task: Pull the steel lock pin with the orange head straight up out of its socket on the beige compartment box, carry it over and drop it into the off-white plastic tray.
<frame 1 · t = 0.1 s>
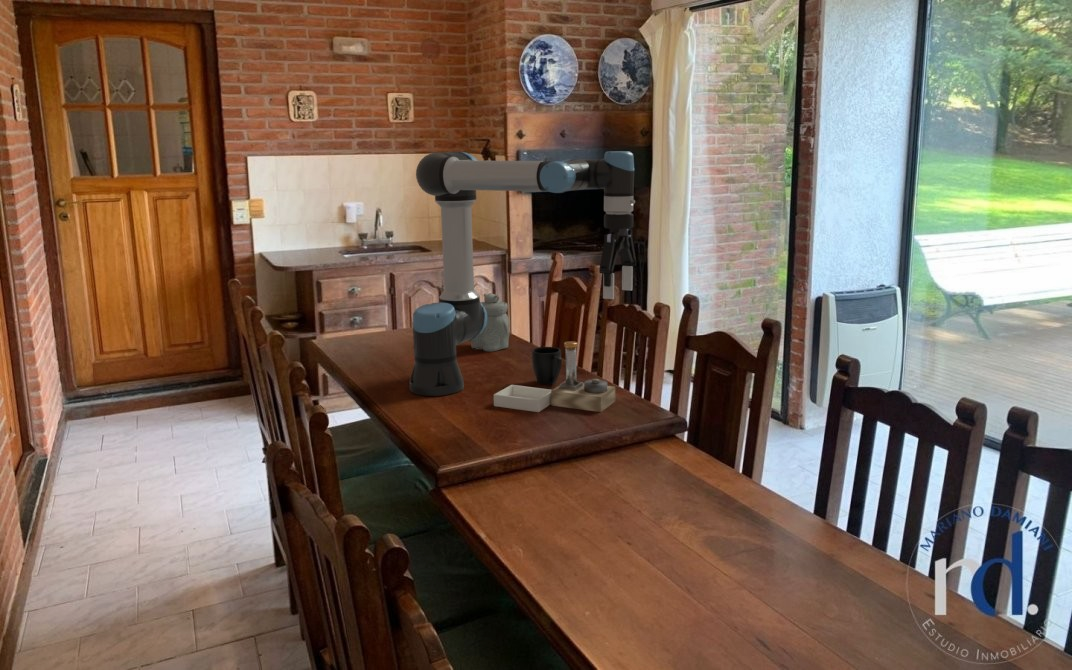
hand: (618, 294, 225), 28 cm above the table, fingers open, 13 cm apart
beige compartment box: (583, 403, 226), on the table
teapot: (484, 347, 289), on the table
lock pin: (571, 387, 227), point 4 cm above the table, touching beige compartment box
tray: (524, 403, 226), on the table
mug: (549, 384, 244), on the table
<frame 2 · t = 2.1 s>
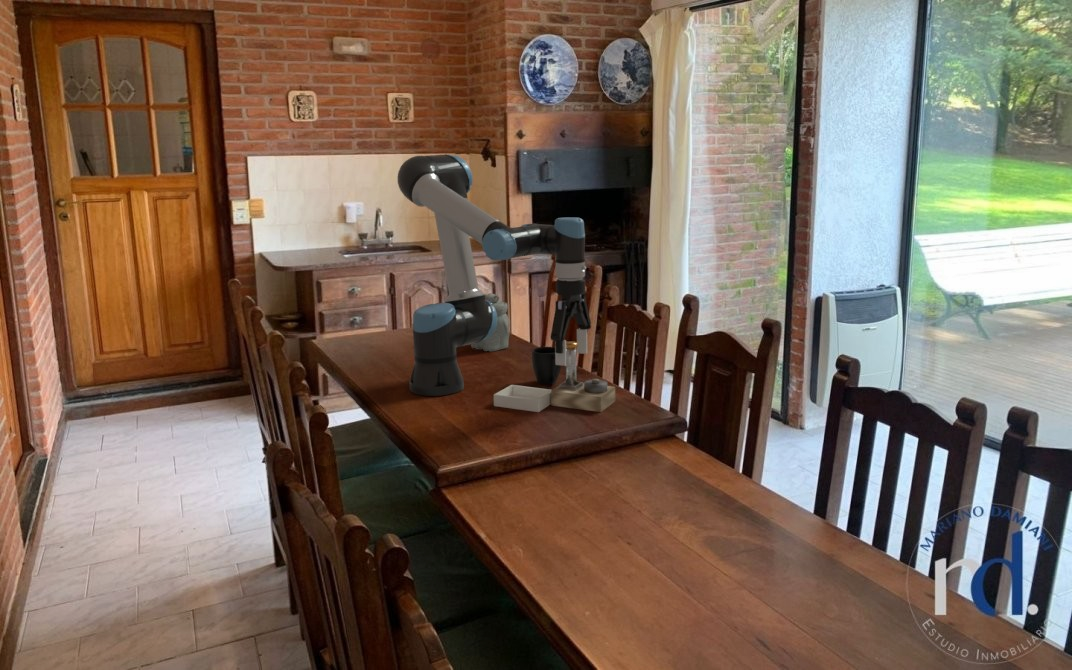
hand: (571, 359, 225), 12 cm above the table, fingers open, 13 cm apart
nothing on the table moved.
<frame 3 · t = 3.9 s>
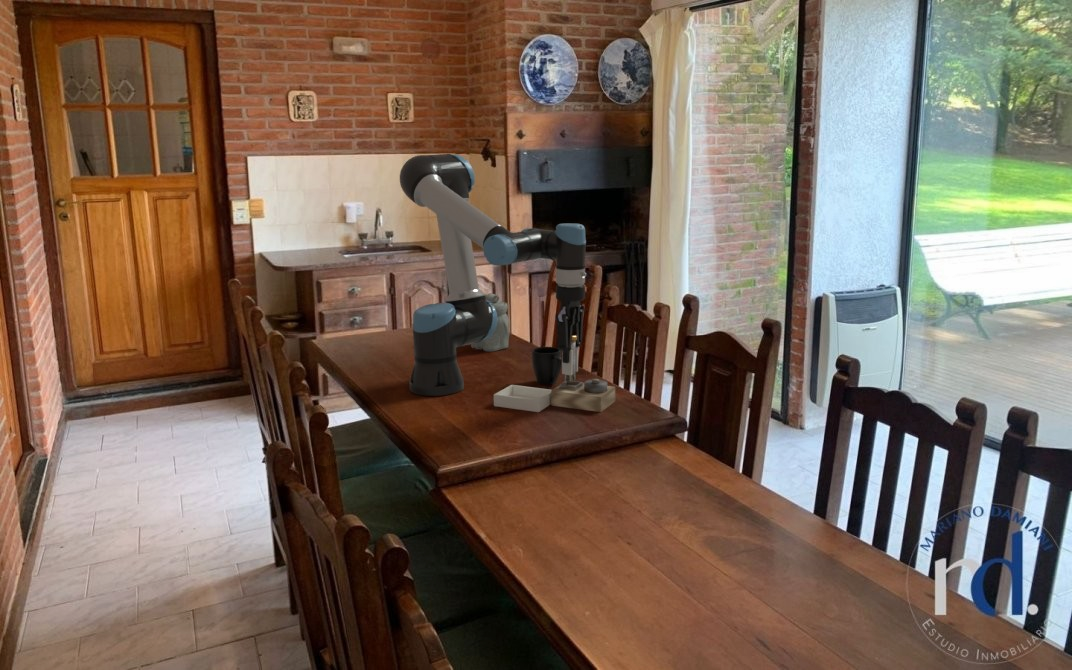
hand: (569, 372, 226), 8 cm above the table, fingers closed on lock pin, 3 cm apart
lock pin: (569, 379, 226), point 6 cm above the table, touching gripper
everything else where it was.
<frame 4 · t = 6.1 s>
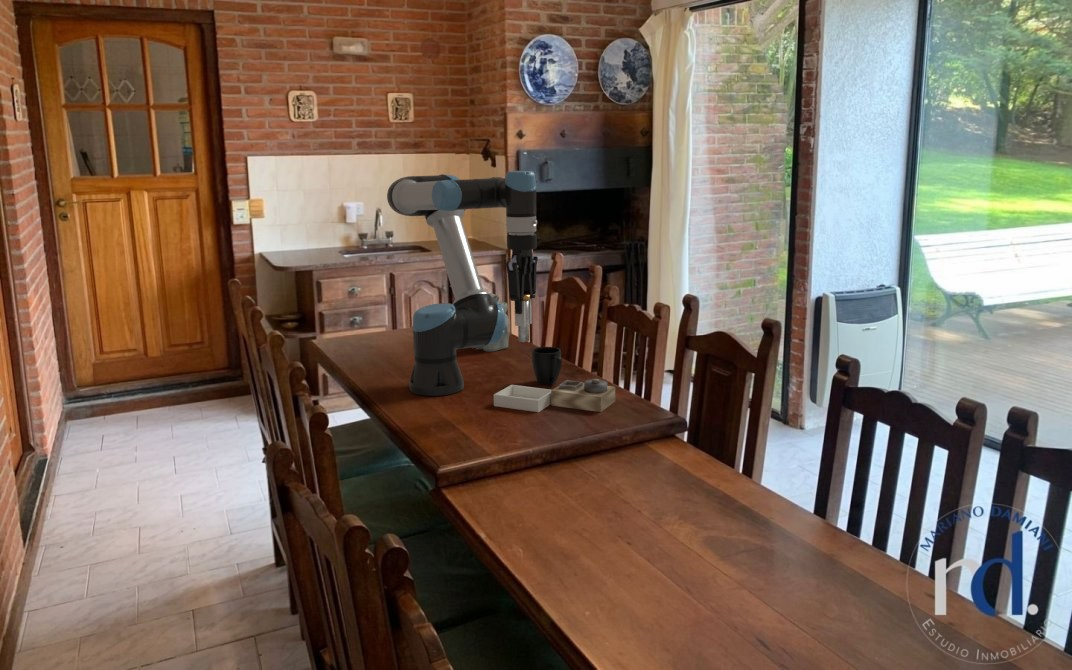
hand: (523, 324, 222), 21 cm above the table, fingers closed on lock pin, 3 cm apart
lock pin: (523, 340, 222), point 17 cm above the table, touching gripper
everything else where it was.
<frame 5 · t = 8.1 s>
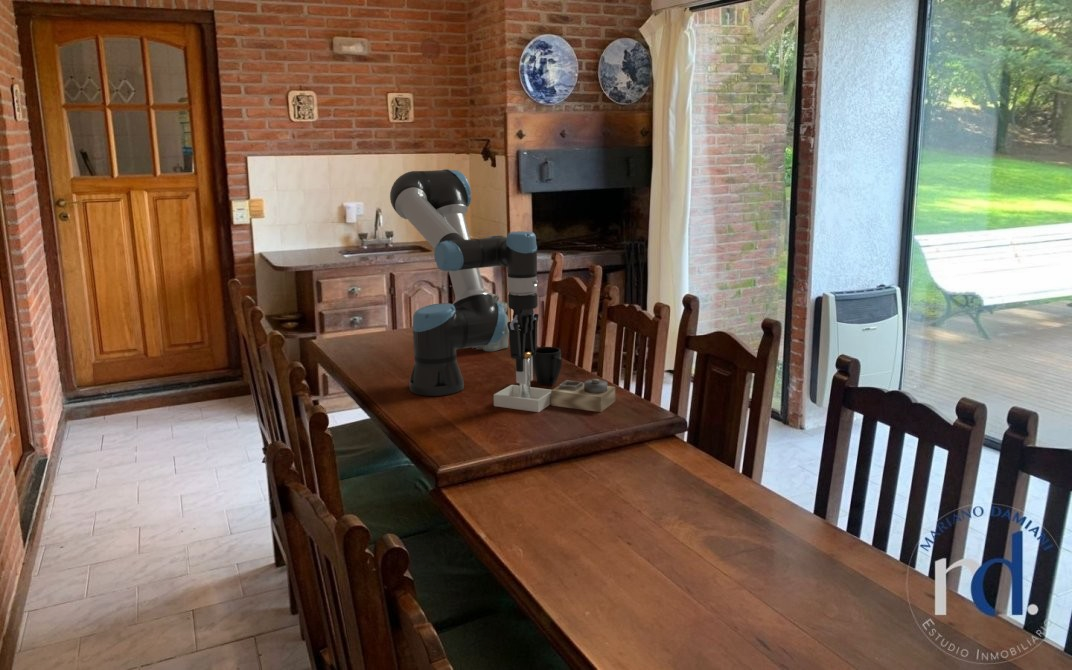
hand: (524, 381, 225), 6 cm above the table, fingers closed on lock pin, 3 cm apart
lock pin: (525, 396, 226), point 2 cm above the table, touching gripper
everything else where it was.
when the fingers open (5 cm above the table, at t = 9.1 s): lock pin stays where it is, resting on tray.
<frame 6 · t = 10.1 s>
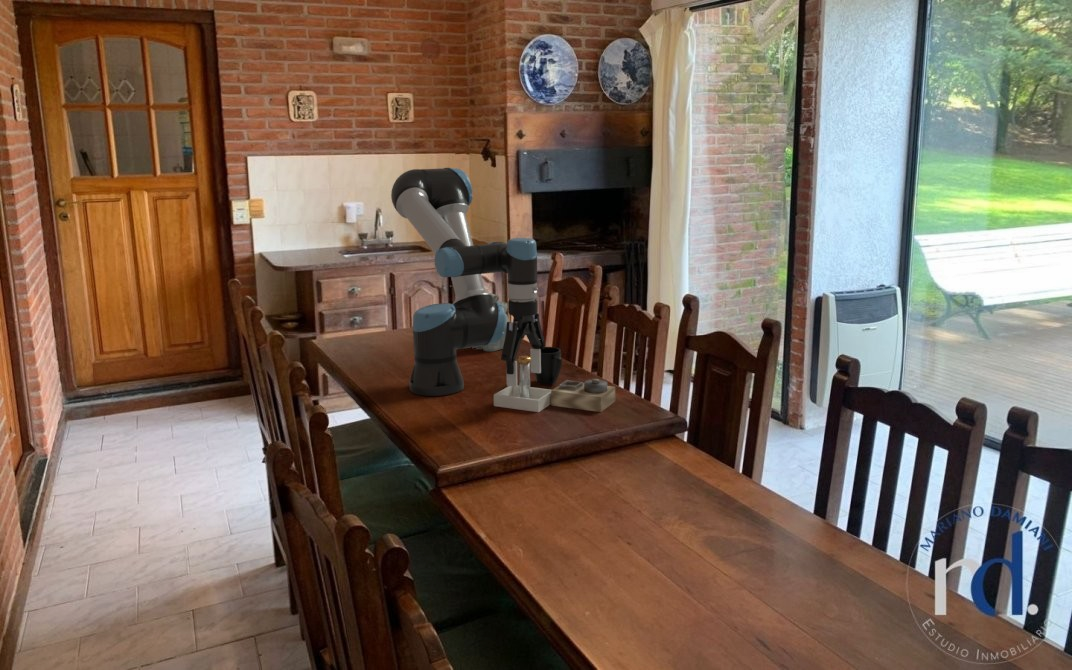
hand: (524, 379, 225), 7 cm above the table, fingers open, 13 cm apart
lock pin: (525, 401, 226), point 1 cm above the table, touching tray
everything else where it was.
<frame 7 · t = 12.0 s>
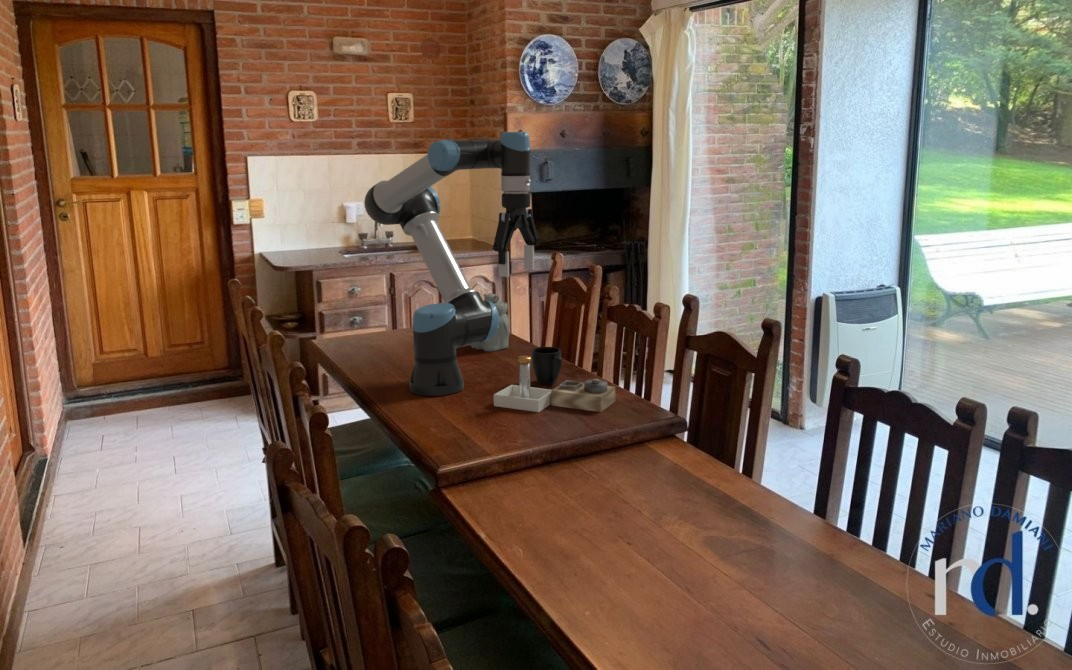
hand: (516, 272, 229), 33 cm above the table, fingers open, 13 cm apart
nothing on the table moved.
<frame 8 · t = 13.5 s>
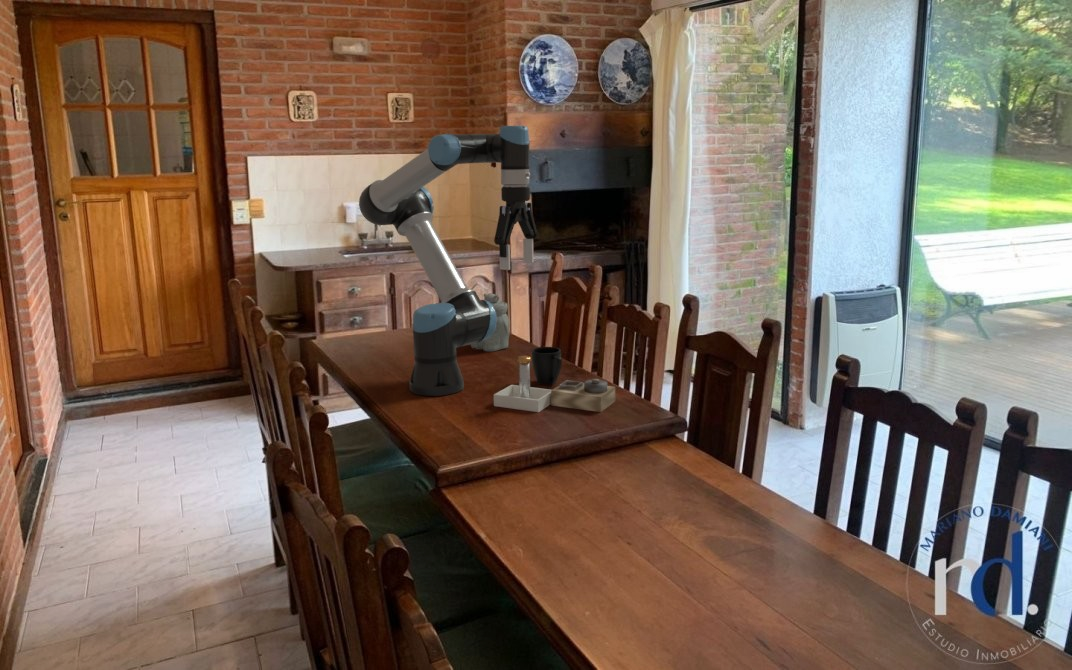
hand: (517, 266, 231), 35 cm above the table, fingers open, 13 cm apart
nothing on the table moved.
at the end: lock pin inside the target area on the tray (0.1 cm from its centre), point 0.6 cm above the tray's base; the gripper is holding nothing; lock pin touching tray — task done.
